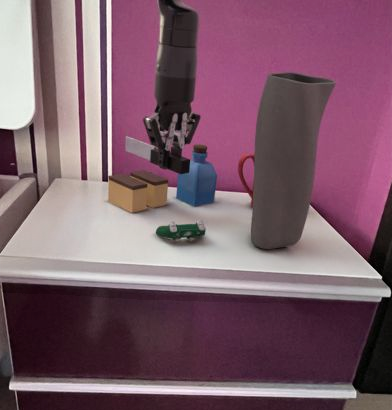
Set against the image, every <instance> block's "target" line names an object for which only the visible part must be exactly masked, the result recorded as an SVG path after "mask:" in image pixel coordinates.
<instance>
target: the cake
mask: <svg viewBox="0 0 392 410" xmlns="http://www.w3.org/2000/svg"><path fill="white" fill-rule="evenodd" d="M129 174H130V175H128V174H125V173H117V174H112V175H108V180H107V181H108V183H107V184H108V185H107V186H108V187H107V189H108V190H107V200H108V201H107V202H108V203H110V204H112V205H114V206H117V207H118V208H120V209H123V210H125V211H127V212H129V213H131V214H133V213H137V212H142V211H146V210H147V206H148V207H150V208H152V209H155V208H159V207H163V206H167V204H168V190H169V179H167V178H166V177H162V176H161V175H158V174H155V173H152V172H150V171H148V170H145V169H142V170H136V171H131V172H129Z"/></svg>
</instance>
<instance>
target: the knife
mask: <svg viewBox="0 0 392 410" xmlns="http://www.w3.org/2000/svg"><path fill="white" fill-rule="evenodd" d="M124 151H125V152H127V153H130V154H133V155H134V156H137V157H140V158H143V159H145V160H148V161H149V163H151V164H153V165H156V166H158V167H159V165H158V153H159V149H158V147H156V146H153V145H151V143H147V142H145V141H141V140H139V139H136V138H133V137H130V136H128V135H126V136H125V150H124ZM190 160H191V159H190V158H188V157H185V156H183V155H182V156H179V155H177V154H174V153H171V151H170V158H169V169H167V170H168V171H171V172H173V173H176V174H178V173H179V174H185V173H189V170H190Z"/></svg>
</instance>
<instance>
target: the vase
mask: <svg viewBox="0 0 392 410" xmlns="http://www.w3.org/2000/svg"><path fill="white" fill-rule="evenodd" d="M336 85H337V81H336V80H334V79H330V78H326V77H320V76H313V75H310V74H309V75H308V74H304V73H299V72H293V71H285V72H283V71H282V72H270V73H268V74H267V77H266V80H265V83H264V86H263V90H262V93H261V97H260V101H259V105H258V110H257V116H256V124H255V135H254V155H255V156H254V162H253V182H254V192H253V207H252V211H251V223H250V240H251V243H252V245H254V246H255V247H257V248H259V249H262V250H275V249H279V248H287V247H291V246H293V245H295V244H297V243H298V242H299V241H300V240H301V238H302V236H303V232H304V229H305V225H306V223H307V222H306V221H307V217H308V213H309V210H310V205H311V200H312V196H313V189H314V182H315V175H316V174H315V173H316V165H317V151H318V142H319V133H320V127H321V123H322V119H323V116H324V113H325V111H326V107H327V105H328V102H329V100H330V99H331V98H330V97H331V95H332V94H333V91H334V89H335V87H336Z"/></svg>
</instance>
